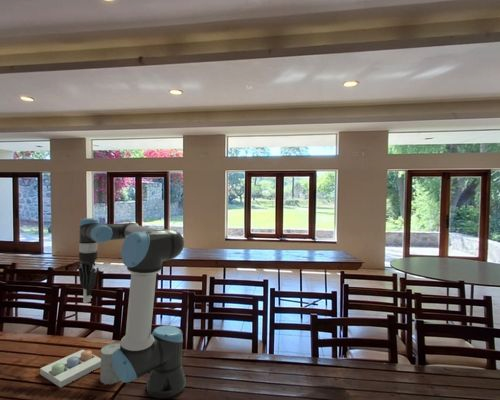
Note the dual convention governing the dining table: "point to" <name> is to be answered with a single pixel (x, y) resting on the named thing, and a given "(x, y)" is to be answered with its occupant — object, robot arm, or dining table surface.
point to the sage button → (57, 369)
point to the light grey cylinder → (108, 364)
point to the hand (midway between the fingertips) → (87, 301)
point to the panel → (71, 373)
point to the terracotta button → (86, 355)
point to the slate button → (72, 362)
